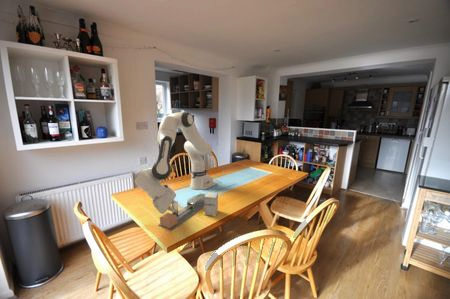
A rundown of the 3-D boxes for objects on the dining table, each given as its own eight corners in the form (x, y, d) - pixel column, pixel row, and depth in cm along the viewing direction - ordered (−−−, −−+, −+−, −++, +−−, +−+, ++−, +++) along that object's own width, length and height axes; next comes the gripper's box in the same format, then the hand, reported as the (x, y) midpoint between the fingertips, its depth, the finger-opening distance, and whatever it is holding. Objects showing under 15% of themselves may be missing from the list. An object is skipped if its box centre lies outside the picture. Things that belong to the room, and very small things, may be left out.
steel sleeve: (200, 200, 141) (200, 193, 140) (206, 202, 139) (206, 195, 137) (187, 208, 129) (186, 201, 128) (193, 210, 127) (193, 203, 126)
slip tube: (190, 205, 131) (190, 192, 129) (194, 207, 129) (194, 193, 127) (167, 221, 113) (166, 205, 111) (171, 223, 111) (170, 207, 109)
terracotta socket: (167, 219, 116) (167, 211, 115) (177, 223, 112) (177, 215, 111) (160, 224, 112) (159, 216, 111) (170, 228, 108) (170, 220, 107)
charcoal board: (198, 199, 143) (198, 199, 143) (209, 203, 138) (209, 202, 138) (158, 225, 112) (158, 224, 112) (171, 231, 107) (171, 230, 107)
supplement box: (204, 215, 123) (203, 196, 120) (207, 209, 130) (206, 191, 127) (215, 216, 122) (215, 197, 119) (218, 210, 129) (218, 192, 126)
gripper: (155, 197, 103) (174, 215, 104) (167, 183, 123) (183, 198, 124) (147, 205, 104) (166, 222, 106) (161, 189, 124) (177, 204, 125)
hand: (176, 209), depth 115 cm, fingers closed on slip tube, 3 cm apart
